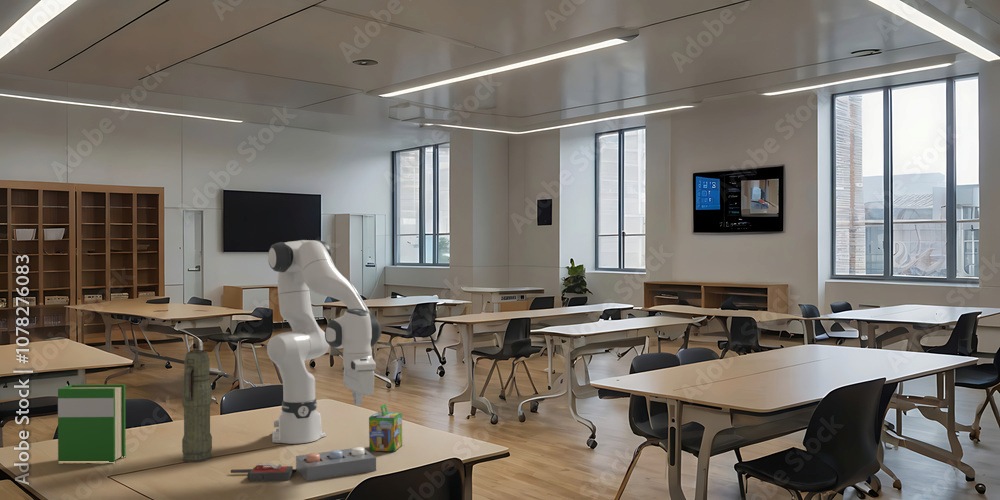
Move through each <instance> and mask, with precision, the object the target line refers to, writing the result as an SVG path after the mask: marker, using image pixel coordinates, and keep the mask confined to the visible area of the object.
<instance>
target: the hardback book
mask: <svg viewBox="0 0 1000 500" xmlns="http://www.w3.org/2000/svg"><path fill="white" fill-rule="evenodd" d="M126 441H127V440H126V384H123V383H122V384H116V383H115V384H70V385H66V386H63V387H60V388H58V389H57V462H58V461H109V462H114V461H115V462H116V460H118V459H121V458H120V457H122V456H123V457H124V456H127V454H126V448H127V447H126V443H127V442H126Z"/></svg>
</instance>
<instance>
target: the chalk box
mask: <svg viewBox="0 0 1000 500" xmlns="http://www.w3.org/2000/svg"><path fill="white" fill-rule="evenodd" d="M384 410H385V411H384ZM368 435H369V436H368V441H369V444H368V445H369V450H368V452H391V453H392V452H393V453H394V452H396V451H397V450H399V449H400V448H402V446H403V413H401V412H391V411H388V407H387V404H386V403H384V404H382V405H381V406H380V411H379V412H376V413H374V414H372V415H370V416H369V418H368Z"/></svg>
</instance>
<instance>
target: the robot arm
mask: <svg viewBox="0 0 1000 500" xmlns="http://www.w3.org/2000/svg"><path fill="white" fill-rule="evenodd" d="M267 260H268V265H269V267H270V268H271V270H273V271H274V272H277V294H278V296H277V297H278V306H279V313H280V316H281V318H282V319H283V320H285V321H287V322H288V324H289V326H290V328H291V330H292V331H286V332H282V333H279V334H276V335H273V336H272V337H270V339H269V340H268V342H267V344H266V353H267V357H269V359H270V361H271V362H272V363H274V364H275V365H276V366H277V368H278V369H279V372H280V375H281V378H282V389H283V390H282V391H283V393H282V394H283V399H282V401H281V412H280V414H279V417H278V419H277V420H273V428H276V429H274V430H272V434H271V437H272V441H271V442H272V443H274V444H275V443H277V444H278V443H282V444H288V445H289V444H294V445H295V444H306V443H311V442H315V441H318V440H320V439H321V438H324V437H326V436H327V435H326V432H324V431H322V417H321V413H320V412H318V410H317V408H318V406H317V404H318V403H317V398H316V378H315V376H314V375H313V374H312V373H311V372H309V371H308V369H307V368H306V367H307V366H306V363H305V361H309V360H314V359H317V358H319V357H321V356H324V355H325V354H326V353H327V352H329V349H330V347H331V348H333V349H343V350H342V356H343V357H342V358H343V359H342V361H343V363H342V367H343V376H342V377H343V378H342V381H343V383H342V384H343V386H344V387H345V388H347V389H349V390H351V394H352V395H351V396H352V399H353V405H355V406H356V407H362V405H363V398H364V397H365V396H373V394H374V391H375V390H374V389H375V371H374V370H376V369H377V363H376V361H375V360H374V359H373V349H372V347H374V346H375V345H376V344H377V343H378V341H379V340H380V338H381V337H382V336H381V335H382V327H381V324H380V322H379V320H378V319H377V318H376V317H375V316H374V314H372V312H371V311H370V309H369V308H368V306H367V305H366V303H365V301H364V300H363V298H362V296H361V295H360V293H359V292H358V290H357V289H356V287H355V286H354V284H353V282H351V281H350V280H349V279H348V278H346V277H345V276H343V274H342V273H341V272H340V271H339V270H338V269H337V267H336V265H335V263H334V261H333V259H332V252H331V247H330V246H329V244H328V243H327V242H326V241H325V240H319V239H315V240H313V239H312V240H311V239H310V240H309V239H308V240H307V239H300V240H293V241H292V240H291V241H287V242H286V241H285V242H283V241H280V242H276V243H274V244H272V245H271V246H270V248H269V249H268V252H267ZM311 292H312V293H314V294H316V295H318V296H319V295H320V296H323V297H324V296H325V297H329V298H331V299H335V300H338V301H340V302H342V303H343V304H344V305H345V306H346V307H347V309H346V310H345V311H344V313H343V315H341V316H339V317H337V318H335V319H331V320H330V321H329V322H328V323H327V324H326V327H325V328H324V329H325V330H323V329H322V328H321V327H320V325H319V324H318V322H317V321H316V318H315V316H314V312H313V308H312V300H311Z"/></svg>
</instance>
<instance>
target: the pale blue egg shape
mask: <svg viewBox="0 0 1000 500" xmlns="http://www.w3.org/2000/svg"><path fill="white" fill-rule="evenodd" d="M341 450H342V449H334V450H333V449H332V450H330V452H329V451H328V452H329V459H330V460H333V459H340V458H343V451H341Z"/></svg>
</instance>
